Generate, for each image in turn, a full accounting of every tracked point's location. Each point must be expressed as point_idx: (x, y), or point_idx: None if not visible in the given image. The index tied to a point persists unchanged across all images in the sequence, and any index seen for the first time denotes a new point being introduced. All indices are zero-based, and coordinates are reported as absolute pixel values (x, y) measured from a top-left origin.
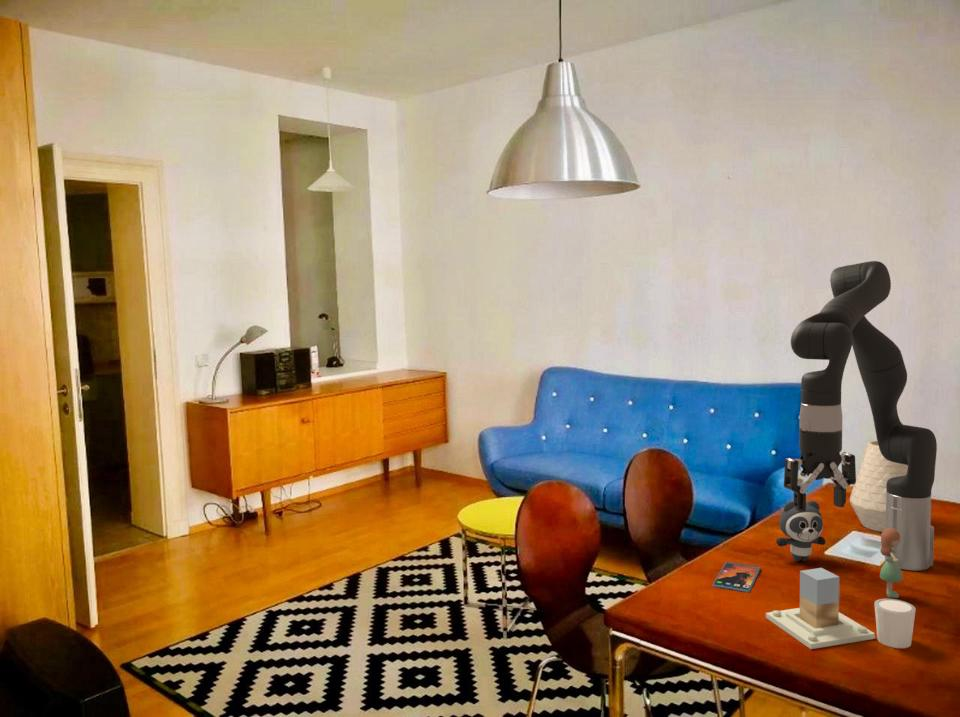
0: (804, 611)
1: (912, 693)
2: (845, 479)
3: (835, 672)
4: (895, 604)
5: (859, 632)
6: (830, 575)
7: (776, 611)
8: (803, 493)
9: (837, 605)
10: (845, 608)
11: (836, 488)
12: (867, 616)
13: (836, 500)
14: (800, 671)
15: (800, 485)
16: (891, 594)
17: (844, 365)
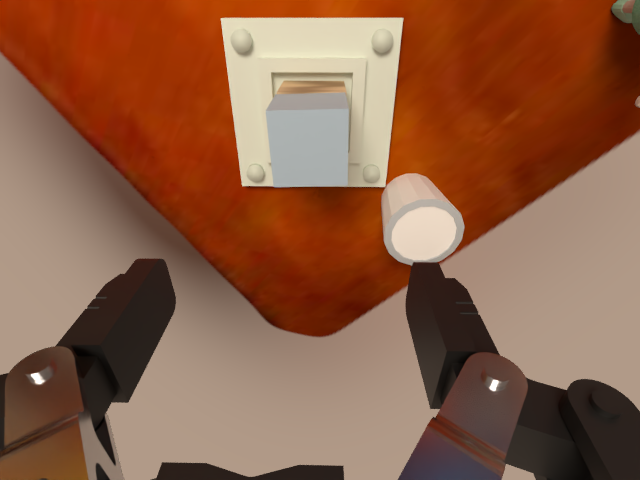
0: None
1: (307, 310)
2: (533, 459)
3: (241, 249)
4: (432, 228)
5: (361, 174)
6: (330, 171)
7: (241, 37)
8: (112, 394)
9: None
10: (448, 34)
11: (437, 369)
12: (456, 93)
13: (416, 302)
14: (189, 234)
15: (83, 398)
16: (620, 15)
17: None
